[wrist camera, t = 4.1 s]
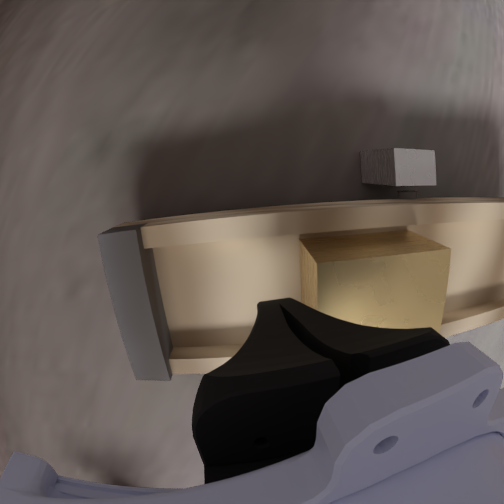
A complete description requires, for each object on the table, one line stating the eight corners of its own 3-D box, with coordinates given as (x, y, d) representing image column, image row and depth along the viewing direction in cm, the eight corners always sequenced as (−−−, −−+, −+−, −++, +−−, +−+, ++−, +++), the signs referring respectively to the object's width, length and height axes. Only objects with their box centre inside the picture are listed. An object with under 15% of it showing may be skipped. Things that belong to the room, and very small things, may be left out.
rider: (302, 330, 16) (316, 375, 12) (298, 239, 14) (316, 263, 10) (401, 315, 16) (435, 350, 12) (408, 229, 14) (451, 248, 10)
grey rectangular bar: (359, 342, 21) (383, 371, 17) (359, 151, 17) (393, 148, 14) (392, 333, 21) (419, 359, 17) (397, 152, 18) (434, 150, 14)
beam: (155, 348, 18) (138, 385, 14) (127, 213, 16) (96, 226, 12) (525, 291, 18) (552, 306, 14) (535, 192, 16) (567, 199, 12)
